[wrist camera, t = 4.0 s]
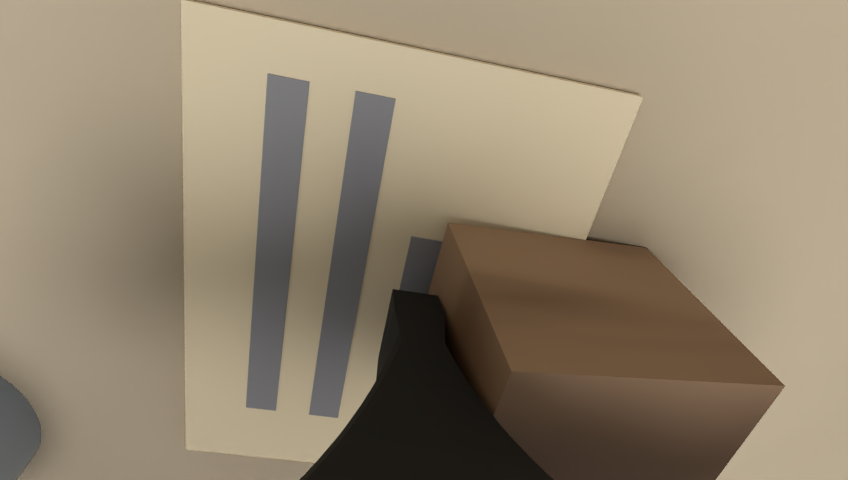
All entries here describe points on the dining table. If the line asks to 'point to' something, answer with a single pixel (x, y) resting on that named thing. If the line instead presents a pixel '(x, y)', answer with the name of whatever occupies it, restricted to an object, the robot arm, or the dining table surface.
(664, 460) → the walnut block
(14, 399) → the slate cylinder
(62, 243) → the dining table surface
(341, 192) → the letter
